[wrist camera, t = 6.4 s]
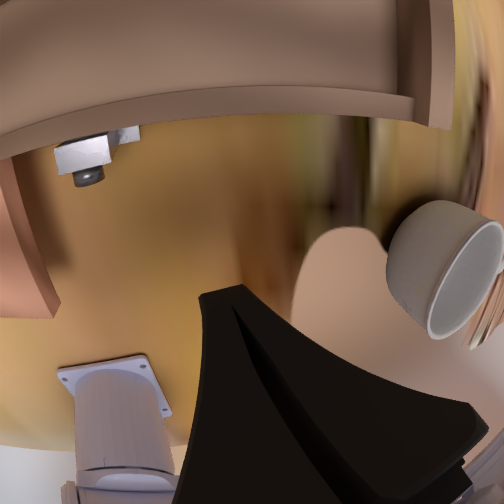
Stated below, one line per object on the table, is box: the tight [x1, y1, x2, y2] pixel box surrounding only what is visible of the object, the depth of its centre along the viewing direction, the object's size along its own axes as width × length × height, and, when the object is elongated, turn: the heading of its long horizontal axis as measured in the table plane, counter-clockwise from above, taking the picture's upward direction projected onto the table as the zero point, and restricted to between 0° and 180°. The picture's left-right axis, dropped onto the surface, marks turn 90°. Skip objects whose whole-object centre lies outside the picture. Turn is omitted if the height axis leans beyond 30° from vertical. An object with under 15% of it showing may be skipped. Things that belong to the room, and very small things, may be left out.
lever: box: [0, 0, 455, 318], centre depth 8 cm, size 15×20×3 cm
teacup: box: [386, 200, 504, 340], centre depth 23 cm, size 14×11×8 cm
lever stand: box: [54, 126, 140, 187], centre depth 9 cm, size 11×4×6 cm, turn 2°
